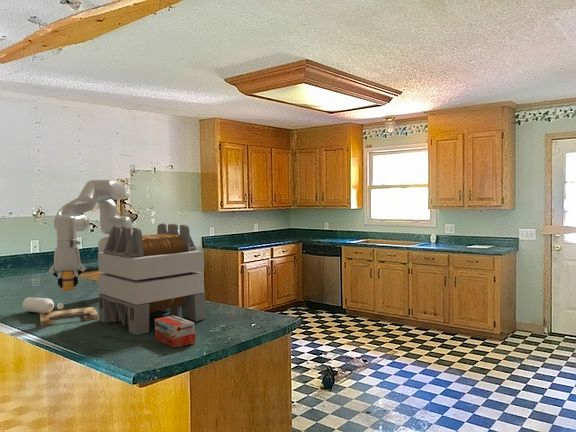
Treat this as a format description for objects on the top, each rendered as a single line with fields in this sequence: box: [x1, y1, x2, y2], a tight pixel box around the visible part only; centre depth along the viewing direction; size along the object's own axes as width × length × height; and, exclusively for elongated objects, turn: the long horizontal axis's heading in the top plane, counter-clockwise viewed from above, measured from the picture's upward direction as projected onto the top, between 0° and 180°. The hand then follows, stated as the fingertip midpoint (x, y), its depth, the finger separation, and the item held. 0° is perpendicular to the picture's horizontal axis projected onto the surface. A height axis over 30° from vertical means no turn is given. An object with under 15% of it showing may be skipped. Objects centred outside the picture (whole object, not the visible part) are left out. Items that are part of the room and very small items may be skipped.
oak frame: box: [39, 306, 99, 327], centre depth 208 cm, size 22×16×3 cm
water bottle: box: [21, 296, 65, 314], centre depth 214 cm, size 9×6×25 cm
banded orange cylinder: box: [61, 271, 75, 292], centre depth 204 cm, size 5×5×8 cm
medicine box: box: [154, 314, 196, 349], centre depth 172 cm, size 15×8×8 cm, turn 44°
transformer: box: [97, 222, 207, 336], centre depth 203 cm, size 34×33×41 cm
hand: (68, 286), depth 204 cm, fingers closed on banded orange cylinder, 5 cm apart
